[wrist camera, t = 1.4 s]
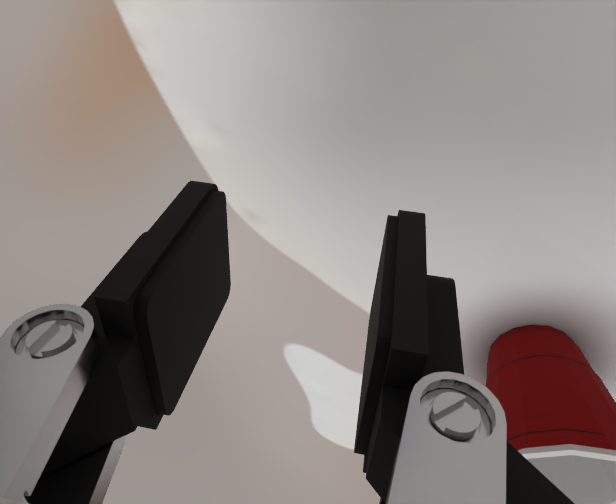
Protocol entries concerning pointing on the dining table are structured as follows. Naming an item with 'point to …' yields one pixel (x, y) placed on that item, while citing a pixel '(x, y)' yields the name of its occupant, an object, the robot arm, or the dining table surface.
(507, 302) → the dining table surface
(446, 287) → the robot arm
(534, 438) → the plastic cup
